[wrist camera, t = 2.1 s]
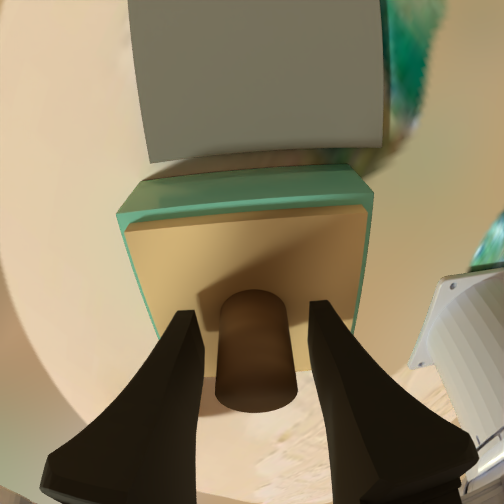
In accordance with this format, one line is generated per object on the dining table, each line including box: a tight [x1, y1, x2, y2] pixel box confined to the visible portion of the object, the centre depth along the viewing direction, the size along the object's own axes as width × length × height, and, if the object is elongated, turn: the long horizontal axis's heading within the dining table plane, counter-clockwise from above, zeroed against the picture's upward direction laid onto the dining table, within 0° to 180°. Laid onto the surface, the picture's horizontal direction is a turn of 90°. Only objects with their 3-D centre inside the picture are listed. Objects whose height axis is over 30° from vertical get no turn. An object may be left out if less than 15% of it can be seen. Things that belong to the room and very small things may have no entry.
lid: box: [124, 204, 368, 413], centre depth 10 cm, size 8×8×4 cm
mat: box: [128, 0, 384, 164], centre depth 10 cm, size 9×8×1 cm
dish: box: [116, 164, 374, 340], centre depth 13 cm, size 8×8×3 cm
